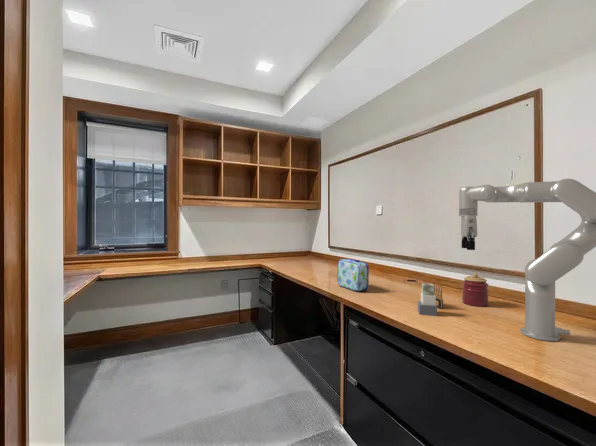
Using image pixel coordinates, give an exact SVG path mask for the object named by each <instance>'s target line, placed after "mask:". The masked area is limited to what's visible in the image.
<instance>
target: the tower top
mask: <svg viewBox="0 0 596 446" xmlns="http://www.w3.org/2000/svg"><path fill="white" fill-rule="evenodd" d="M420 301H421V303H422V304H423V305H434V306H436V296H435V294H434V296H432V295H423V294H422V291H421V292H420Z"/></svg>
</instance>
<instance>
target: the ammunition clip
mask: <svg viewBox="0 0 596 446" xmlns="http://www.w3.org/2000/svg"><path fill="white" fill-rule="evenodd" d="M428 284H431V283H430V282H429V283H428ZM433 285H434V294H435V296H436V306H437V309H439V310H442V309H444V299H443V288H442V286H440V285H435V284H433Z"/></svg>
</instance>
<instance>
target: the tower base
mask: <svg viewBox="0 0 596 446" xmlns="http://www.w3.org/2000/svg"><path fill="white" fill-rule="evenodd" d="M437 310H438V308H437V306H434V305H423V304H422V303H421V300H418V301H417V312H418V314H419V315H420V316H430V317H437V316H438V311H437Z"/></svg>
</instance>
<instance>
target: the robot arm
mask: <svg viewBox="0 0 596 446" xmlns="http://www.w3.org/2000/svg"><path fill="white" fill-rule="evenodd" d="M458 191H459V193H458V198H459V199H458V200H459V201H458V207H459V208H458V211H459V212H458V216H459V217H461V218H460V219H461V220H460V235H461V248H462V249H466V250H467V251H475V250H476V237H478V220H477V217H478V216H479V215H478V214H479V213H478V209H479V208H478V206H479V205H478V203H479V202H485V203H489V204H490V203H520V204H521V203H563V204H564V205H565V206H567V207H569V209H571V210H572V211H574V212H576V213H577V214H579V216H580V218H581V222H580V223H579V225H578V226H577V227H576V228H575V229H574V230H573V231H571V232H569V234H567V235H566V236H565V237H563V238H561V239H560V240H559V241H557V242H555V243H554V244H552V245H551V246H550V248H549V249H548V250H546V251H545V252H543V254H541V255H540V256H539V257H537V258H535V259H532V260H530V261H528V262H527V263H526V264H525V267H524V278H525V280H524V282H525V283H524V285H525V287H524V327H521V328H520V330H519V331H520V333H521V334H522V335H524V336H526V337H529V338H532V339H535V340H539V341H544V342H545V341H546V342H558V341H560V340H561V335H566V336H570V335H571V331H570V329H563V328H562V327H557V326H556V281H558V280H559V279H561V278H562V277H564V276H565V275H566V274H568V273H570V272H571V271H573V270H574V269H575V268H577V267H578V266H579V265H580V264H581V263H582V262H583V260H584V258H585V257H584V256H585V255H586V254H588V253H589V252H591V251H592V250H594V248H596V191H594V190H592V189H591V188H589V187H588V186H586V185H585V184H583V183H582V182H580V181H578V180H576V179H573V178H563V179H560V180H553V181H529V182H523V183H520V184H515V185H507V186H494V185H491V184H482V185H478V186H462V187H461V188H459V190H458Z"/></svg>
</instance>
